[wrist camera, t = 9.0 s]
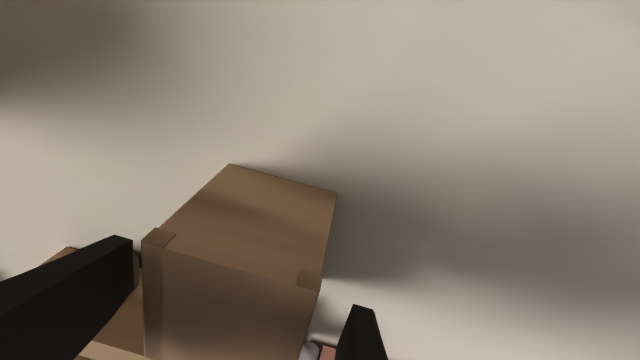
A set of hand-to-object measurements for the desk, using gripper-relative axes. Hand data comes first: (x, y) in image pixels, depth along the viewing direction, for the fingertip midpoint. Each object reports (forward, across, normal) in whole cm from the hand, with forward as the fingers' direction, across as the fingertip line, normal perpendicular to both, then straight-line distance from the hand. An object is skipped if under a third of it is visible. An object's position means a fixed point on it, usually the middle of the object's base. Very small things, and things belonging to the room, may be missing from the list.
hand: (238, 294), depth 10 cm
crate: (+4, 0, 0) cm, 4 cm away
